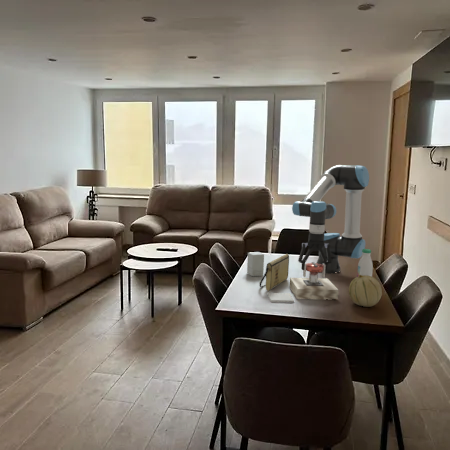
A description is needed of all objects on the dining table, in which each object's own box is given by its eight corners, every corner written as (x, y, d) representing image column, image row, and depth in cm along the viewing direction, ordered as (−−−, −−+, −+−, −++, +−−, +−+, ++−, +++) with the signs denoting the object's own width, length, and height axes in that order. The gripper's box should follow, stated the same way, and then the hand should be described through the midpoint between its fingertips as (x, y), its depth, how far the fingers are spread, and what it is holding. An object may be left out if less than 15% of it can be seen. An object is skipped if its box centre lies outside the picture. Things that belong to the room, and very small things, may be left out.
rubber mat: (289, 295, 214) (289, 293, 214) (294, 302, 204) (294, 300, 203) (267, 294, 214) (267, 292, 214) (270, 302, 203) (270, 300, 203)
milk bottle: (373, 285, 237) (376, 249, 234) (367, 288, 231) (370, 251, 228) (360, 282, 242) (363, 247, 239) (353, 285, 236) (356, 249, 233)
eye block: (326, 287, 230) (327, 277, 229) (337, 299, 210) (338, 288, 209) (289, 286, 229) (290, 276, 228) (296, 298, 209) (297, 287, 208)
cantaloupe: (387, 310, 197) (390, 278, 195) (359, 312, 193) (362, 280, 191) (367, 299, 211) (370, 270, 209) (341, 301, 207) (343, 271, 205)
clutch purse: (277, 277, 247) (278, 251, 244) (289, 279, 243) (290, 253, 241) (256, 290, 221) (257, 262, 218) (268, 293, 217) (270, 264, 215)
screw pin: (302, 290, 224) (303, 261, 221) (319, 290, 224) (321, 262, 222) (305, 295, 215) (307, 266, 213) (323, 296, 215) (325, 266, 213)
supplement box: (263, 275, 249) (264, 254, 247) (252, 276, 246) (252, 255, 244) (258, 272, 256) (258, 251, 254) (246, 273, 253) (247, 252, 251)
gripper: (296, 233, 211) (293, 278, 214) (340, 234, 211) (337, 279, 215) (293, 230, 218) (291, 274, 221) (336, 231, 219) (332, 274, 222)
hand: (313, 276), depth 218 cm, fingers closed on screw pin, 9 cm apart
